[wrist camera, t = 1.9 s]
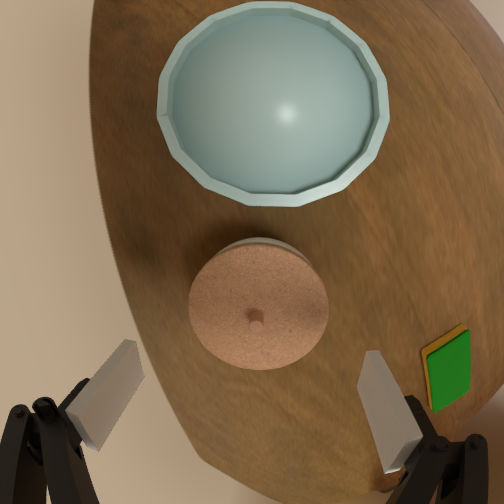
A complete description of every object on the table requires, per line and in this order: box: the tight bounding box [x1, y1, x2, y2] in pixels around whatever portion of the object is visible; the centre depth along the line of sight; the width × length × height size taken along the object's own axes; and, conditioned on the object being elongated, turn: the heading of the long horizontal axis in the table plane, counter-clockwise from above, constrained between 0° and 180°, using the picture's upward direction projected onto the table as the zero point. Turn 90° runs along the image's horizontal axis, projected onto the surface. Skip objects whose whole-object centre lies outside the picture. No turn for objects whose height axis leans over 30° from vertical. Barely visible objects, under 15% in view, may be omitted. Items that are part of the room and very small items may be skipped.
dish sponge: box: [421, 324, 471, 413], centre depth 28 cm, size 7×14×2 cm, turn 28°
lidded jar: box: [188, 237, 329, 370], centre depth 23 cm, size 11×11×9 cm
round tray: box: [157, 1, 390, 207], centre depth 22 cm, size 21×21×2 cm
